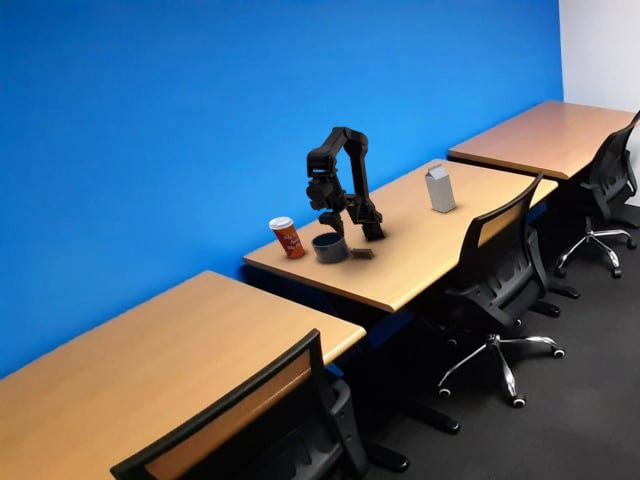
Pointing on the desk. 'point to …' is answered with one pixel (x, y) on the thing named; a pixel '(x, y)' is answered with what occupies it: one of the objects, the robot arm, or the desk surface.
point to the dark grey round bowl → (330, 247)
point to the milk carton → (440, 188)
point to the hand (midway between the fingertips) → (349, 230)
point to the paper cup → (287, 236)
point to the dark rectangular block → (362, 253)
